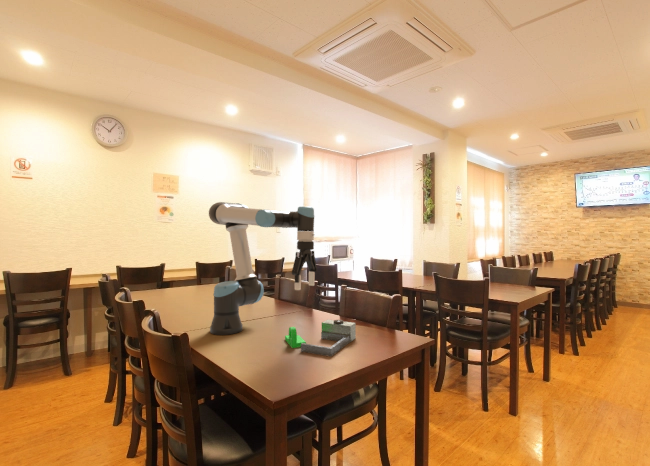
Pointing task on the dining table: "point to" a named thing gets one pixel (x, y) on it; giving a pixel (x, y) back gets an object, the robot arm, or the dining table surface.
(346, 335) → the knobbed latch bracket
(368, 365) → the dining table surface
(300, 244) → the robot arm
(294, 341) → the mechanical part
